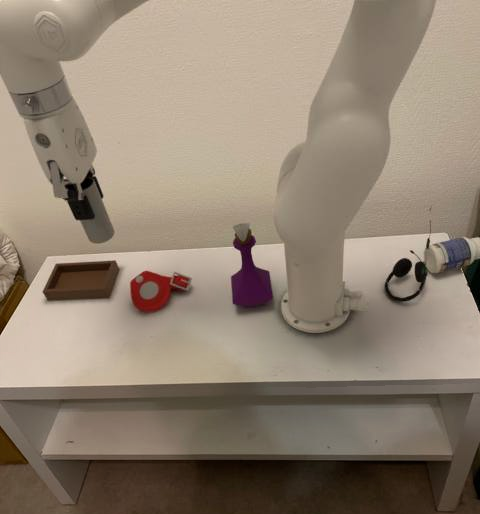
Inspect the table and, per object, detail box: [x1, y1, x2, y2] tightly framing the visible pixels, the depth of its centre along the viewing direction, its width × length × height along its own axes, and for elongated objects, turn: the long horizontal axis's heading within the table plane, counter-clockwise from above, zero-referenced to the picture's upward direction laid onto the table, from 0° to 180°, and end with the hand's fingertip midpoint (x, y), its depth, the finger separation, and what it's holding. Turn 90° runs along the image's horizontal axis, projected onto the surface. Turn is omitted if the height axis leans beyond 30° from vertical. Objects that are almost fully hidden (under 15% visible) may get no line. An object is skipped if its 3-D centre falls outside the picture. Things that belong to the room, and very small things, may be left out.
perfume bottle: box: [230, 222, 274, 309], centre depth 86 cm, size 8×8×18 cm
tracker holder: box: [129, 270, 193, 313], centre depth 96 cm, size 12×4×10 cm
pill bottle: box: [423, 236, 480, 274], centre depth 89 cm, size 5×5×10 cm
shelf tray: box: [42, 259, 120, 301], centre depth 101 cm, size 14×9×3 cm, turn 86°
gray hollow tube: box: [67, 175, 115, 245], centre depth 78 cm, size 4×4×10 cm
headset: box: [384, 205, 432, 303], centre depth 86 cm, size 7×7×20 cm
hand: (89, 207), depth 78 cm, fingers closed on gray hollow tube, 4 cm apart
